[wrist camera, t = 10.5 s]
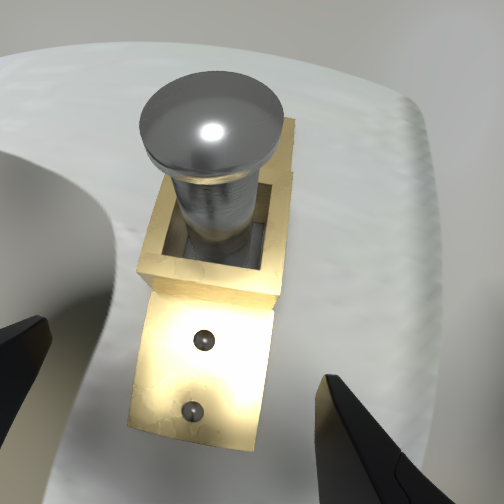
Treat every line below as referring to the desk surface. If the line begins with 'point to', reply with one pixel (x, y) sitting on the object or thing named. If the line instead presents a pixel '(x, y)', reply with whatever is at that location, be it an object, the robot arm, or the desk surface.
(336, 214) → the desk surface
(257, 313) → the brass socket plate
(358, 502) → the robot arm
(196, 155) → the hinge pin
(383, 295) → the desk surface
